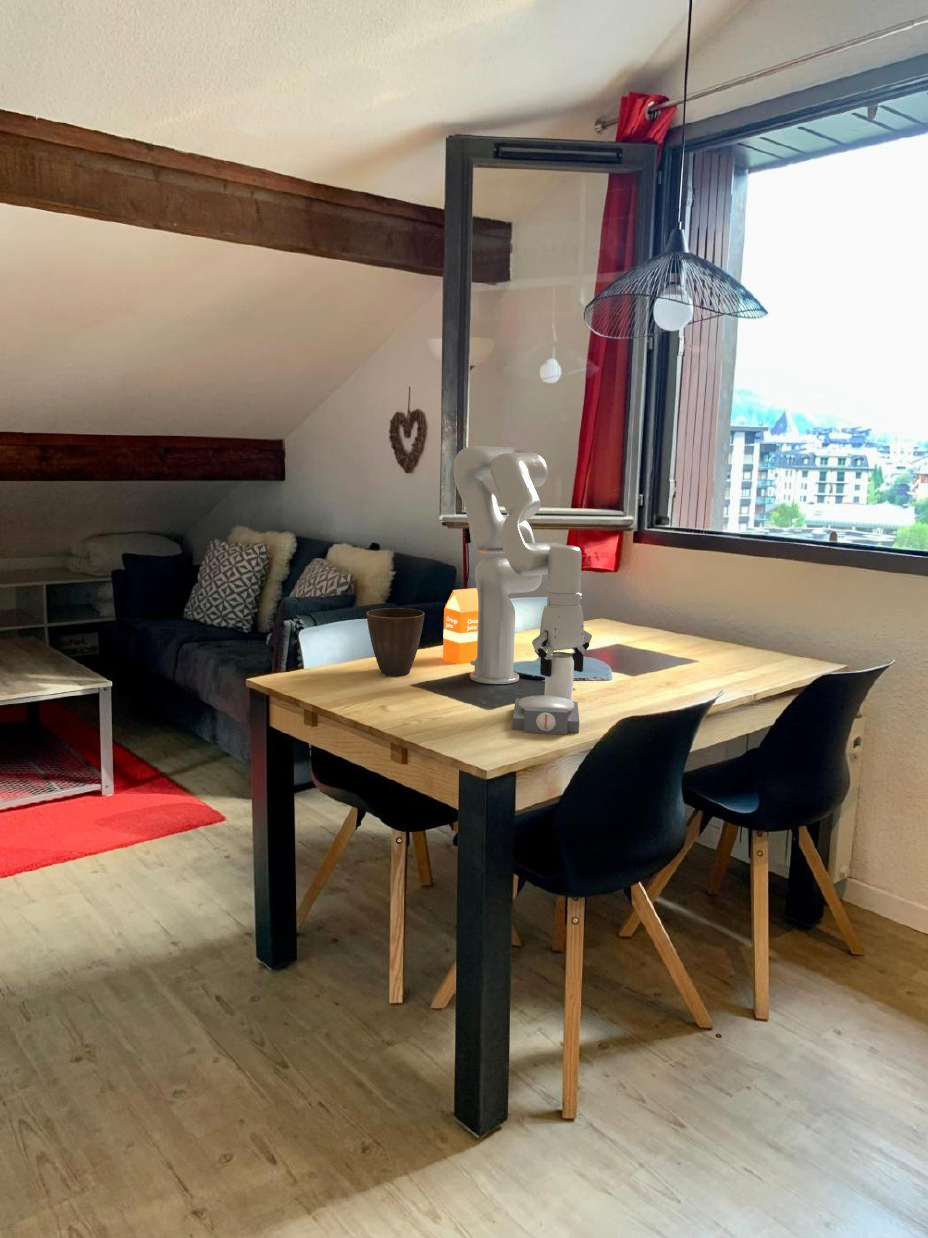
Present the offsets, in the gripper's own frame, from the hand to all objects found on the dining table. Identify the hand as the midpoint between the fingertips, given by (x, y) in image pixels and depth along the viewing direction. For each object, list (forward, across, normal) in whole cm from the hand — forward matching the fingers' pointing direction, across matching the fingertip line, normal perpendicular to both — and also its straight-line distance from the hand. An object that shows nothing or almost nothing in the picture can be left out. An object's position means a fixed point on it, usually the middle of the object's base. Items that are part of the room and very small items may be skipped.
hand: (561, 673), depth 219 cm
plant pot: (+6, +17, -46) cm, 50 cm away
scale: (+8, +12, +8) cm, 16 cm away
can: (+8, 0, -1) cm, 8 cm away
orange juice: (+6, -8, -50) cm, 51 cm away
